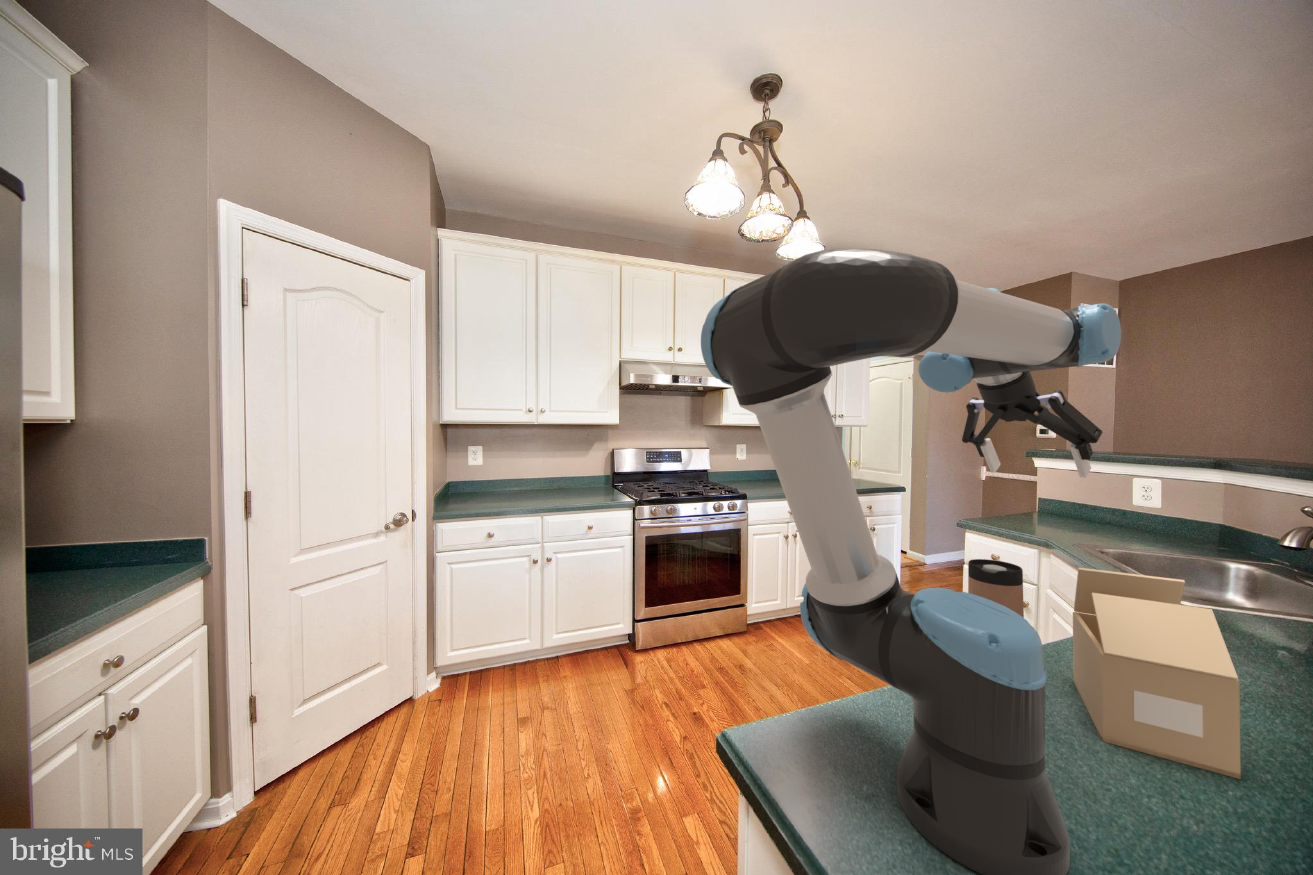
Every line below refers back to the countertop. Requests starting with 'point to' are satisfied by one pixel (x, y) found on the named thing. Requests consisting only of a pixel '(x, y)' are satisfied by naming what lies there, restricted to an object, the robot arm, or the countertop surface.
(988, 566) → the travel mug
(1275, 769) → the countertop surface
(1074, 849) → the countertop surface
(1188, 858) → the countertop surface
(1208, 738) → the carton
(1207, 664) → the near flap
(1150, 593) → the far flap
